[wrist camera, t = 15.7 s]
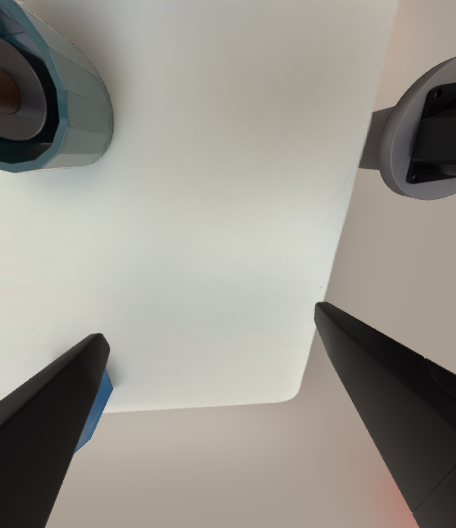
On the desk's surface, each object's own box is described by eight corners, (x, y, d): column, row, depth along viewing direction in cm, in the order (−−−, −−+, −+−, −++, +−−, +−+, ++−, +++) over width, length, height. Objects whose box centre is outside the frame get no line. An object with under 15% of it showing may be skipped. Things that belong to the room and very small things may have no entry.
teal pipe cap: (82, 16, 13) (4, -65, 8) (129, 158, 17) (94, 160, 12) (-40, 38, 13) (-187, -28, 9) (33, 174, 17) (-39, 181, 12)
